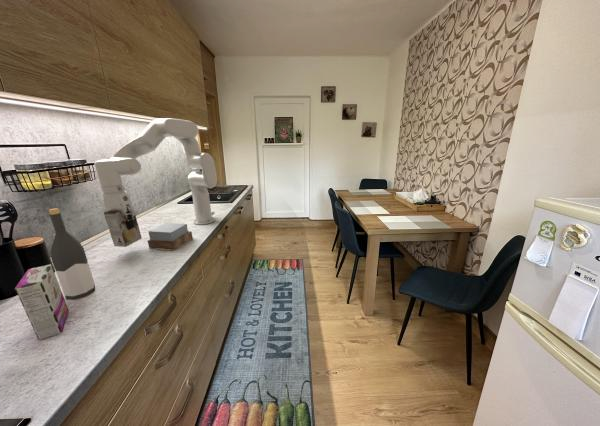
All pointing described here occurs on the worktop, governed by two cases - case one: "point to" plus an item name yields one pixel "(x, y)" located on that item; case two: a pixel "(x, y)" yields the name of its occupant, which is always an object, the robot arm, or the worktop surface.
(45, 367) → the worktop surface
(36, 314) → the candy bar box
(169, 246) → the tower base slab
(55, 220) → the wine bottle
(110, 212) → the coffee box
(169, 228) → the tower top slab
